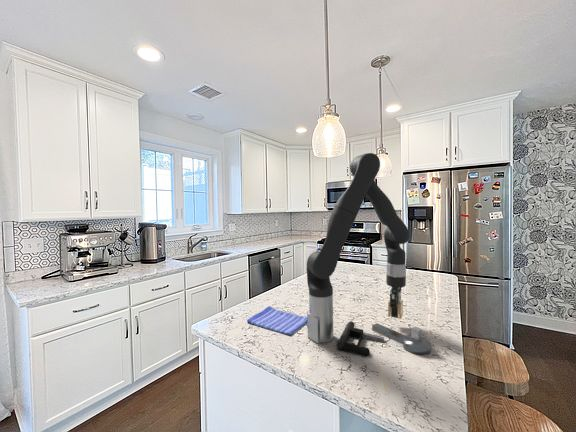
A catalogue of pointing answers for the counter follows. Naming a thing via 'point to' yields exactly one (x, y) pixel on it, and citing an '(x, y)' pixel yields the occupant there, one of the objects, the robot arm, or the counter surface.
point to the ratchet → (407, 339)
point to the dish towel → (278, 321)
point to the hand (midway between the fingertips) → (395, 314)
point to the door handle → (355, 333)
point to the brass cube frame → (400, 309)
